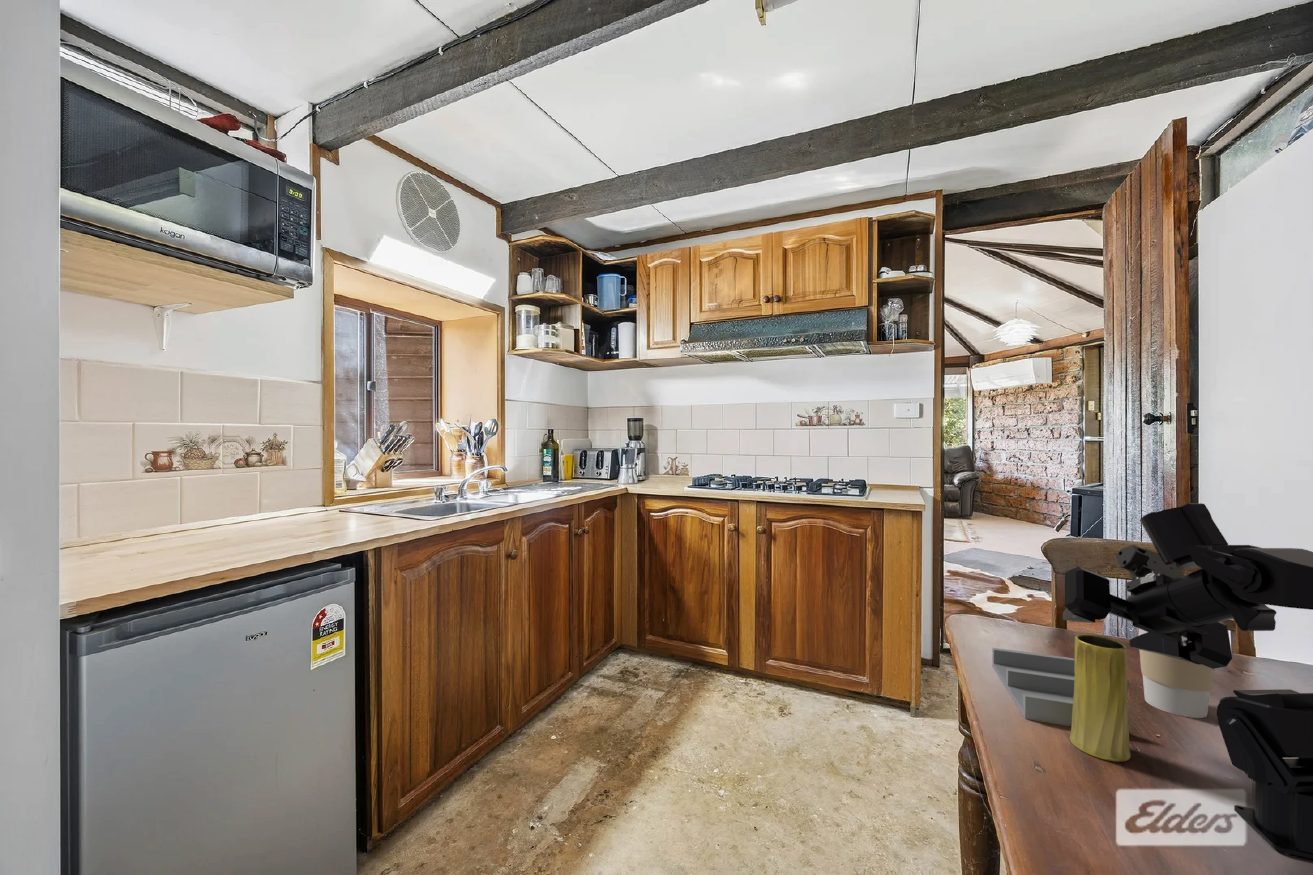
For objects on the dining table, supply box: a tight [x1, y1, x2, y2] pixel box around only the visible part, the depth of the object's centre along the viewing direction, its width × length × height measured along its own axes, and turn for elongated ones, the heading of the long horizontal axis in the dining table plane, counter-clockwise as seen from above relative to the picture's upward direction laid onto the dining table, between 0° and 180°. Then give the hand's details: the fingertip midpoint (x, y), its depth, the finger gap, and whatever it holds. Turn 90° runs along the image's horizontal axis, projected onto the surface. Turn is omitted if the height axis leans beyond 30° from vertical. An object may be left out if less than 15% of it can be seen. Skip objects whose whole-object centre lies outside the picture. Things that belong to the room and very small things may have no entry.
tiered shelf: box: [991, 647, 1075, 727], centre depth 83 cm, size 19×12×3 cm, turn 159°
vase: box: [1069, 633, 1132, 763], centre depth 69 cm, size 6×6×14 cm
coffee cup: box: [1137, 628, 1215, 719], centre depth 80 cm, size 9×9×15 cm
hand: (1096, 630), depth 77 cm, fingers open, 9 cm apart
